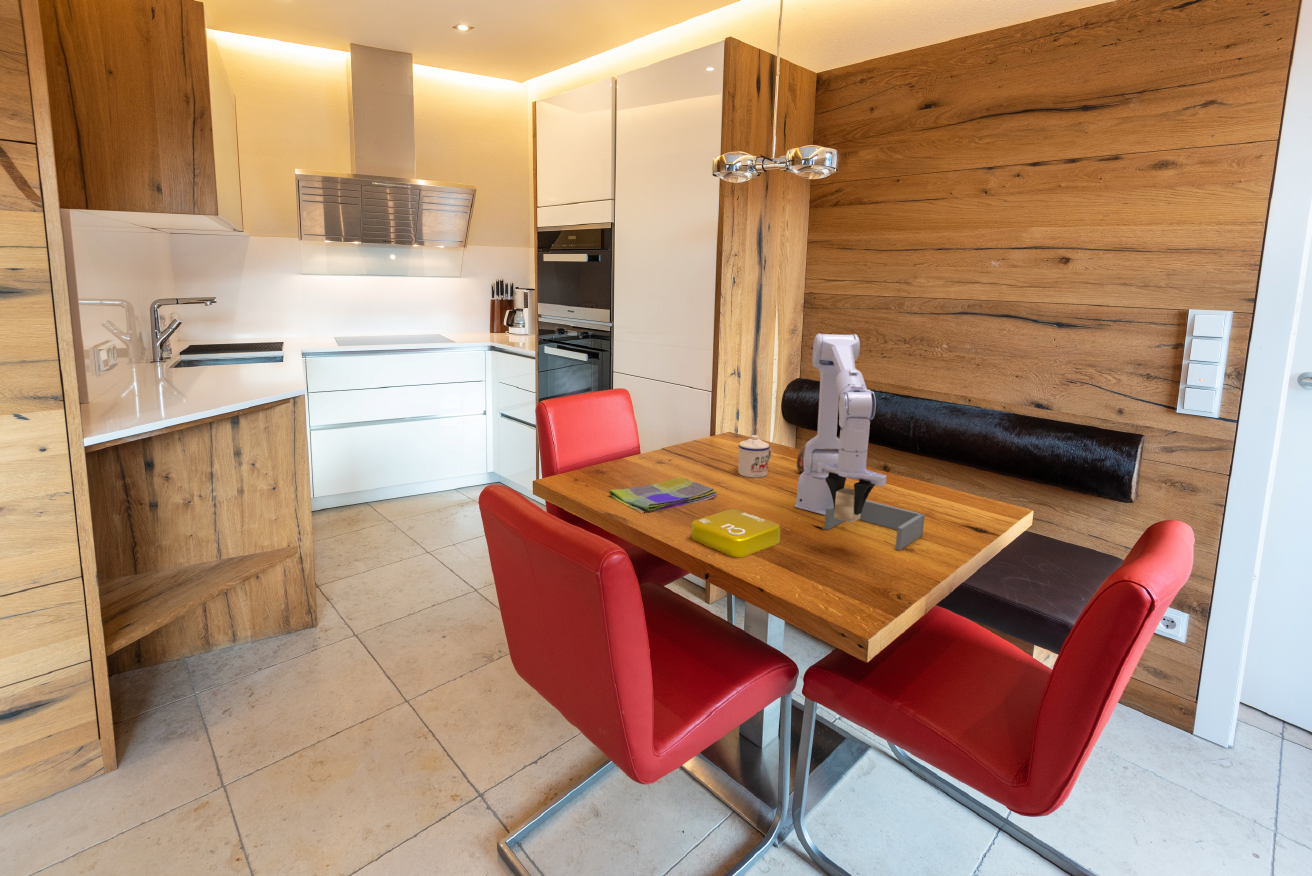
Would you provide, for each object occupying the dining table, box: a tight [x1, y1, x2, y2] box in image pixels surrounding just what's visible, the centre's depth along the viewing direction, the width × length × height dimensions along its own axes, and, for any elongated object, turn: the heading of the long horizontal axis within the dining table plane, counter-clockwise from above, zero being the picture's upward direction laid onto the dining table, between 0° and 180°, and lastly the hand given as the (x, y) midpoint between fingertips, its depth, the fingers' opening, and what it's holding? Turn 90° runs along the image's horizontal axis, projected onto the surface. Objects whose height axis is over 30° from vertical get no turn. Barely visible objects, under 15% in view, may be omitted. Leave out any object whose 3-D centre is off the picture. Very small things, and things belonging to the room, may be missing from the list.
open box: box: [823, 499, 926, 551], centre depth 153 cm, size 18×12×5 cm
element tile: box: [691, 508, 781, 558], centre depth 148 cm, size 15×15×5 cm
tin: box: [796, 444, 828, 473], centre depth 203 cm, size 15×3×8 cm, turn 141°
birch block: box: [834, 486, 861, 524], centre depth 142 cm, size 4×4×6 cm
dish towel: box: [608, 476, 718, 513], centre depth 176 cm, size 18×24×3 cm
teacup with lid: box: [737, 434, 773, 479], centre depth 198 cm, size 12×9×12 cm
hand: (847, 511), depth 142 cm, fingers closed on birch block, 4 cm apart
